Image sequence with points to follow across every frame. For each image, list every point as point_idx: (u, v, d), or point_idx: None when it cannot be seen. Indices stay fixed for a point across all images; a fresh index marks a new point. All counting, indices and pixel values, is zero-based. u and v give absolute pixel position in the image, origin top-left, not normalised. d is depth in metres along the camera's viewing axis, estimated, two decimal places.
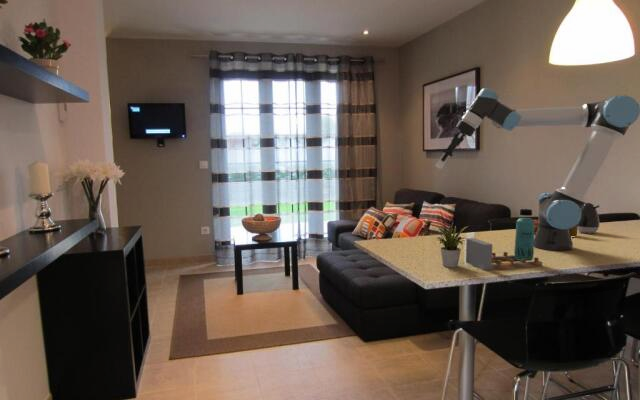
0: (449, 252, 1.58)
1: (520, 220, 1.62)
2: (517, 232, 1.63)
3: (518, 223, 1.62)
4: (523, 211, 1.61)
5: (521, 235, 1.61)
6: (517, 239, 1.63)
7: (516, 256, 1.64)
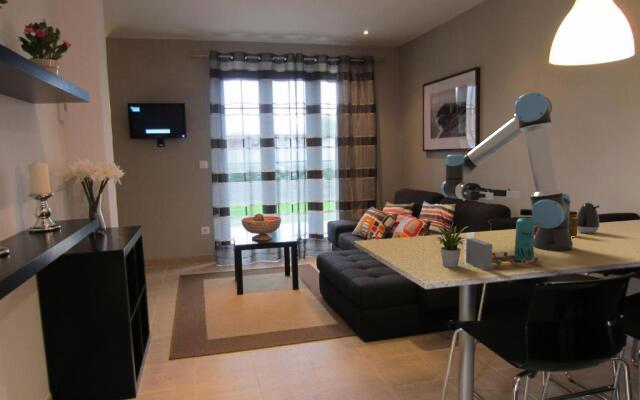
0: (449, 252, 1.58)
1: (520, 220, 1.62)
2: (517, 232, 1.63)
3: (518, 223, 1.62)
4: (523, 211, 1.61)
5: (521, 235, 1.61)
6: (517, 239, 1.63)
7: (516, 256, 1.64)
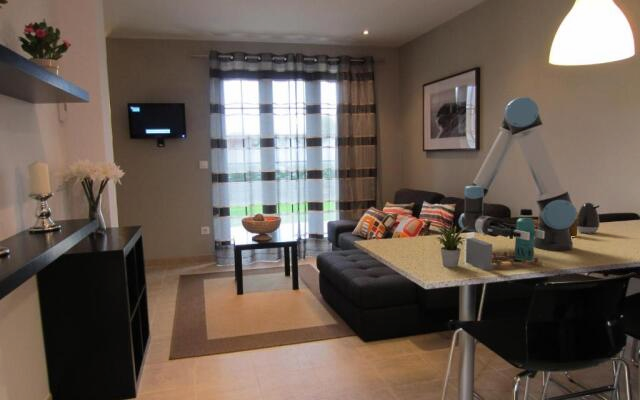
0: (449, 252, 1.58)
1: (520, 220, 1.62)
2: None
3: (518, 223, 1.62)
4: (523, 211, 1.61)
5: None
6: (517, 239, 1.63)
7: (516, 256, 1.64)
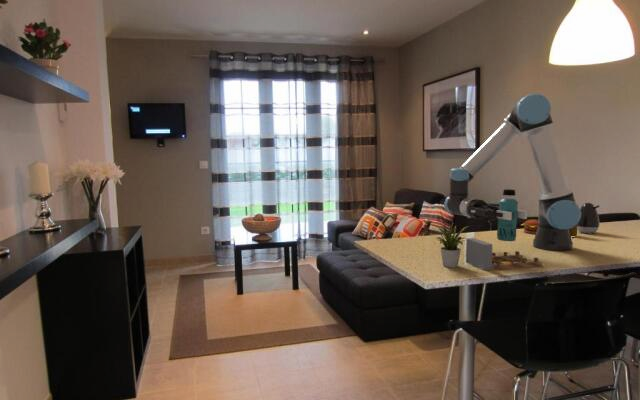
0: (449, 252, 1.58)
1: (503, 200, 1.60)
2: None
3: (501, 203, 1.61)
4: (506, 191, 1.60)
5: None
6: (500, 219, 1.61)
7: (498, 237, 1.62)
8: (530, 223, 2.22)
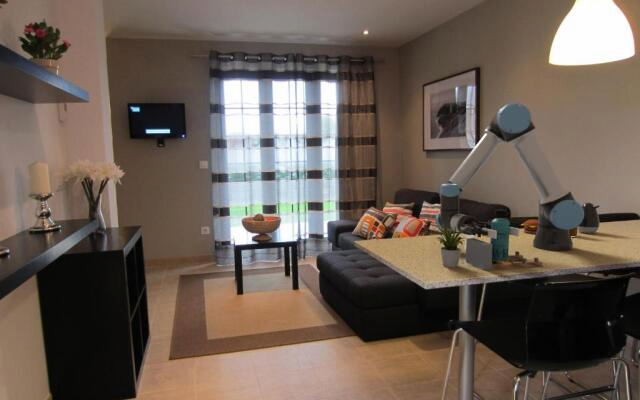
0: (449, 252, 1.58)
1: (495, 220, 1.61)
2: None
3: (493, 223, 1.61)
4: (498, 211, 1.60)
5: None
6: (492, 240, 1.62)
7: None
8: (530, 223, 2.22)
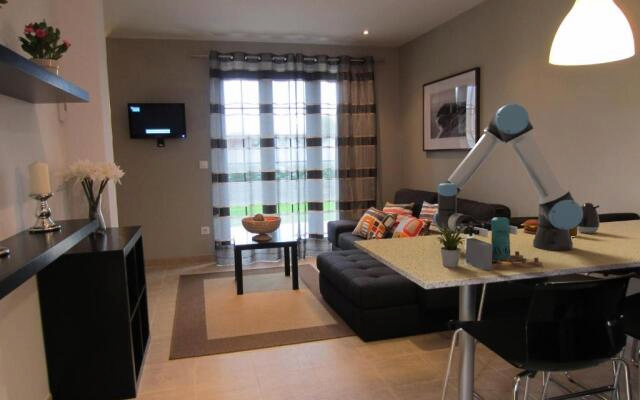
0: (449, 252, 1.58)
1: (494, 219, 1.63)
2: (492, 231, 1.63)
3: (493, 222, 1.63)
4: (497, 209, 1.63)
5: (497, 233, 1.62)
6: (493, 238, 1.63)
7: (493, 255, 1.63)
8: (530, 223, 2.22)
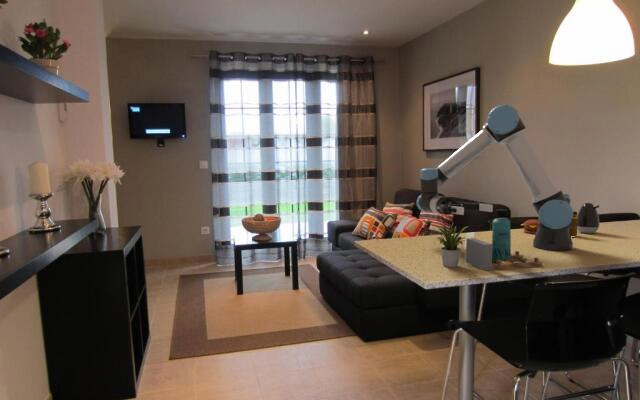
0: (449, 252, 1.58)
1: (496, 221, 1.61)
2: (493, 233, 1.62)
3: (494, 224, 1.61)
4: (498, 212, 1.60)
5: (497, 236, 1.60)
6: (494, 240, 1.62)
7: (494, 257, 1.63)
8: (530, 223, 2.22)
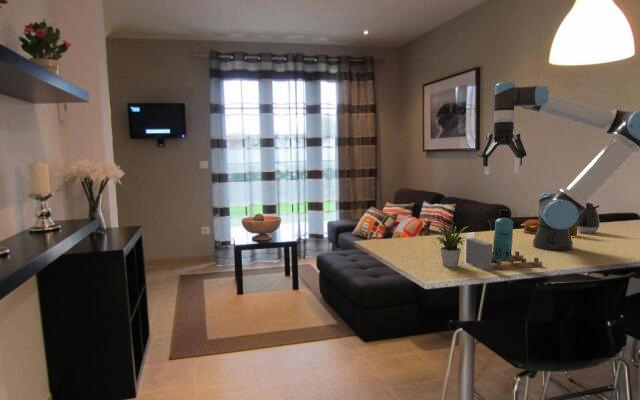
0: (449, 252, 1.58)
1: (499, 220, 1.61)
2: (495, 232, 1.62)
3: (497, 223, 1.61)
4: (502, 211, 1.60)
5: (499, 235, 1.60)
6: (495, 239, 1.62)
7: (494, 256, 1.63)
8: (530, 223, 2.22)
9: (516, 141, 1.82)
